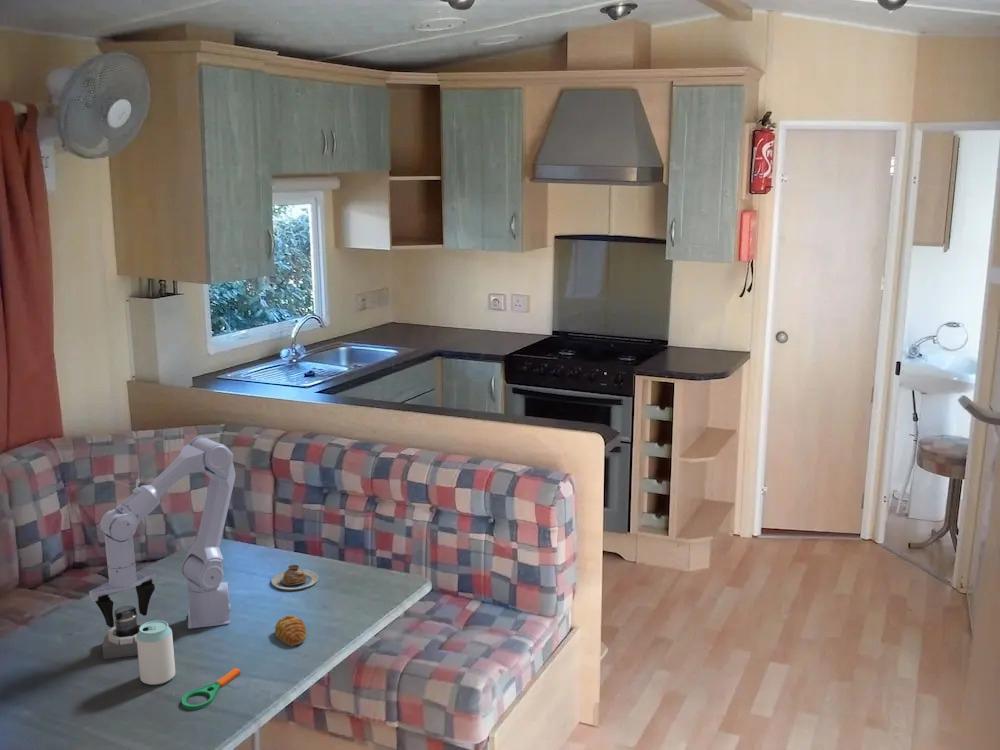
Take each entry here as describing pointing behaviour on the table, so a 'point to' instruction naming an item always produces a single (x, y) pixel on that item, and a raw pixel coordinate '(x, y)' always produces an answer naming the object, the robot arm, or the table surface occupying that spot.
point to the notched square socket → (119, 644)
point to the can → (155, 652)
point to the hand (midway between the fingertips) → (126, 619)
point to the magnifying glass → (211, 694)
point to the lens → (126, 621)
